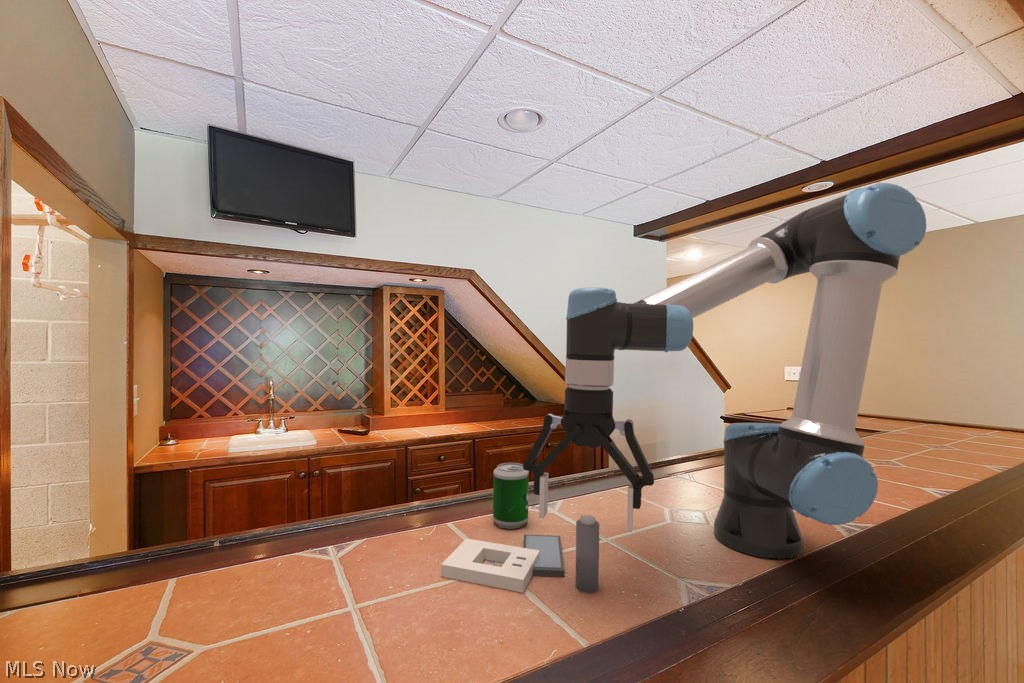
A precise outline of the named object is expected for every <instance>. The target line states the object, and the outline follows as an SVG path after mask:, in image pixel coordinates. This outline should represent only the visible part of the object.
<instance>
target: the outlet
mask: <svg viewBox="0 0 1024 683" xmlns="http://www.w3.org/2000/svg"><path fill="white" fill-rule="evenodd" d="M539 556H540V550H534V549H528V548H523V547H521V546H515V545H509V544H502V543H498V542H497V543H496V542H490V541H484V540H478V539H473V538H465V539H464V540H463V541H462V542H461V543H460V544H459V546H457V547H456V548H455V549H454V550H453V551H452V553H450V555H449V556H448V557H447V558H446V559H445V560H444V561H443V562H442V563H441V564H440V577H441V578H447V579H451V580H456V581H462V582H466V583H471V584H476V585H482V586H487V587H493V588H497V589H502V590H507V591H513V592H517V593H522V594H523V593H524V592H525V590H526V588H527V586H528V585H529V583H530V581H531V579H532V577H533V576H532V569H533V568H534V565H535V563H536V561H537V560H538V558H539ZM484 560H487V561H490V562H491V561H492V562H496V563H501V564H502V563H503V564H502V566H501V567H500V566H497V565H490V564H486V563H482V562H483V561H484Z"/></svg>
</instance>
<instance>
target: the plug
mask: <svg viewBox="0 0 1024 683" xmlns="http://www.w3.org/2000/svg"><path fill="white" fill-rule="evenodd" d="M599 579H600V522H599V521H597V520H596V517H595V516H593V515H591V514H590V515H589V514H584V515H583V514H582V515H581V516H580V517H579V519H577V520H576V522H575V584H574V585H575V588H576V589H577V590H578V591H579V592H581V593H585V594H593V593H597V592H598V591H599V588H600V587H599V586H600V585H599V584H600V580H599Z"/></svg>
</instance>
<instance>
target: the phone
mask: <svg viewBox="0 0 1024 683" xmlns="http://www.w3.org/2000/svg"><path fill="white" fill-rule="evenodd" d="M522 546H523V547H522V548H528V549H534V550H540V556H539V558H538V560H537V561H536V563H535V565H534V568H533V569H532V577H533V576H537V577H539V576H540V577H558V578H559V577H560V578H562V577H563V578H565V564H564V563H565V562H564V555H563V548H562V540H561V535H552V534H551V535H550V534H549V535H546V534H523V544H522Z"/></svg>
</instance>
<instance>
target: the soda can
mask: <svg viewBox="0 0 1024 683" xmlns="http://www.w3.org/2000/svg"><path fill="white" fill-rule="evenodd" d="M492 472H493V473H492V474H493V476H492V477H493V478H492V479H493V480H492V481H493V482H492V483H493V486H492V487H493V488H492V489H493V490H492V492H493V493H492V497H493V498H492V500H493V501H492V520H493V521H494V522H495V524H496V525H497V526H498V527H500V528H503V529H506V530H507V529H509V530H513V529H519V528H521V527H522V528H523V526H524V525H525V524H526V523H527V522H528V520H529V483H530V482H529V479H530V478H529V475H530V474H529V472H530V471H526V470H524V469H523V463H517V462H504V463H500V464H498V465H497V467H496V468H495V469H493V471H492Z"/></svg>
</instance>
